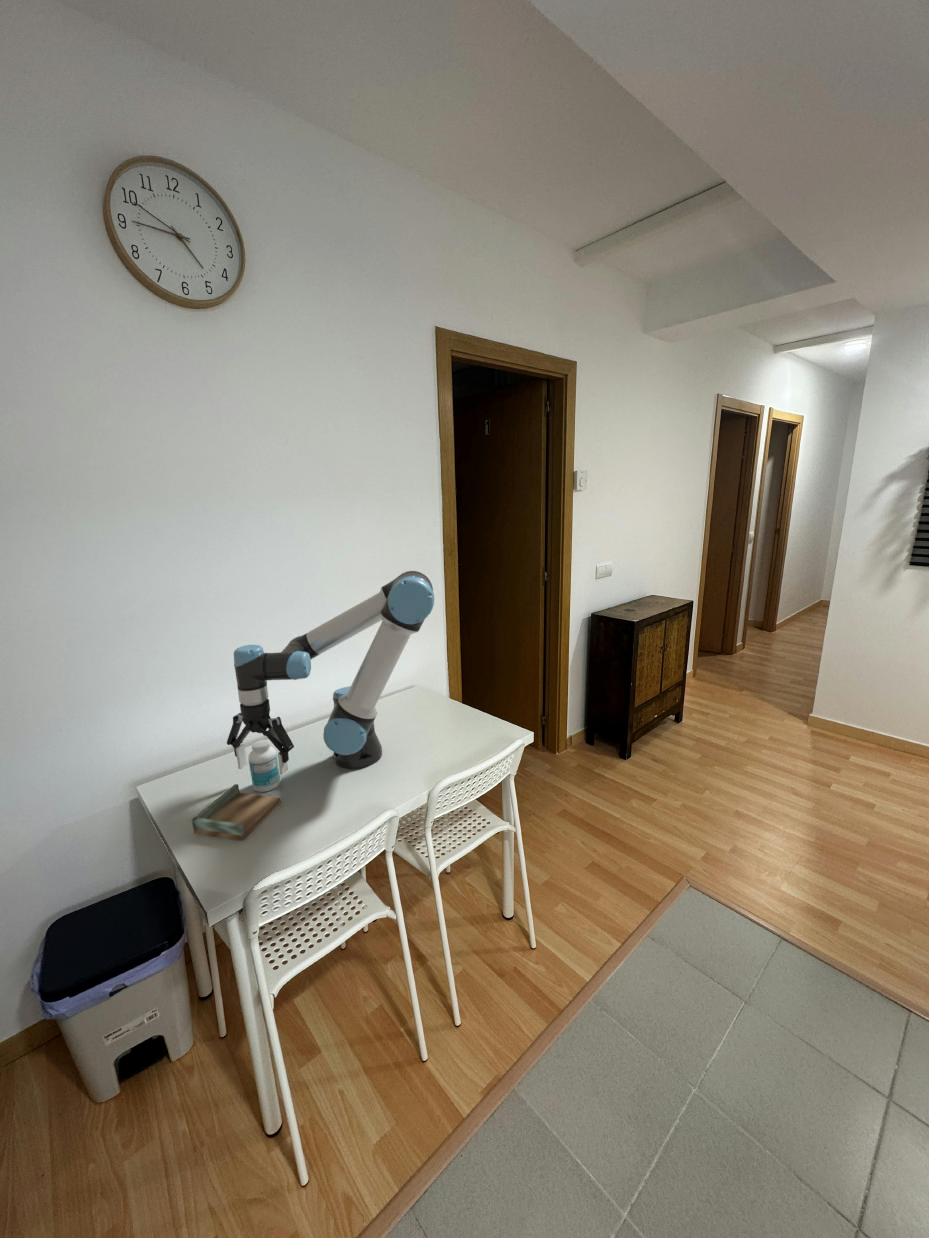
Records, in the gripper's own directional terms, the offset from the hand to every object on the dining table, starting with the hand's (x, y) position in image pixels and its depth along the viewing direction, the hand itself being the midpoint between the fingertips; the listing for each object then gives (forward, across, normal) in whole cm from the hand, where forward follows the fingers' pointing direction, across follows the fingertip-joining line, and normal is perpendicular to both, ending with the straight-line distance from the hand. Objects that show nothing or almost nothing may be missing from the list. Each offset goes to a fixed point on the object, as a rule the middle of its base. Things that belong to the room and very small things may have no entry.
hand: (263, 769), depth 143 cm
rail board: (+5, -2, +14) cm, 15 cm away
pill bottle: (+6, 0, 0) cm, 6 cm away
